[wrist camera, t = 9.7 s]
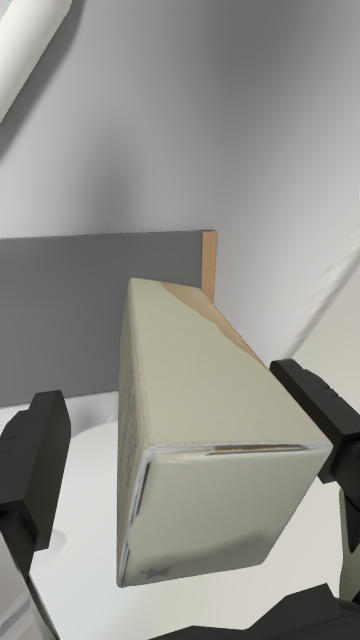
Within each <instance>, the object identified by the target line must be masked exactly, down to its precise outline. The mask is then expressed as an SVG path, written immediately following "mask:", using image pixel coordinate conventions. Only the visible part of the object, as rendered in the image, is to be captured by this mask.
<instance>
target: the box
mask: <svg viewBox="0 0 360 640" xmlns="http://www.w3.org/2000/svg"><path fill="white" fill-rule="evenodd" d="M332 448H333V444H332V443H331V442H330V440H329V439H328V438H327V437H326V436H325V435H324V434H323V432H322V431H321V430H320V429H319V428H318V427H317V425H316V424H315V423H314V422H313V421H312V419H311V418H310V417H309V416H308V415H307V414H306V413H305V411H304V410H303V409H302V408H301V407H300V406H299V404H298V403H297V402H296V401H295V400H294V399H293V397H292V396H291V395H290V394H289V393H288V392H287V390H286V389H285V388H284V387H283V385H282V384H281V383H280V382H279V381H278V380H277V379H276V378H275V376H274V375H273V374H272V373H271V372H270V370H269V369H268V368H267V367H266V366H265V365H264V363H263V362H262V361H261V360H260V359H259V358H258V356H257V355H256V354H255V353H254V352H253V350H252V349H251V348H250V347H249V346H248V344H247V343H246V342H245V341H244V340H243V339H242V337H241V336H240V335H239V334H238V333H237V332H236V331H235V329H234V328H233V327H232V326H231V325H230V324H229V322H228V321H227V320H226V319H225V318H224V316H223V315H222V314H221V313H220V312H219V311H218V309H217V308H216V307H215V306H214V305H213V304H212V302H211V301H210V300H209V299H208V298H207V297H206V295H205V294H204V293H203V292H202V291H201V290H200V289H199V288H196V287H191V286H185V285H180V284H174V283H168V282H161V281H154V280H147V279H140V278H131V279H130V280H129V282H128V288H127V294H126V300H125V307H124V314H123V323H122V332H121V341H120V362H119V405H118V466H117V470H118V471H117V585H118V587H121V588H124V587H127V586H136V585H144V584H150V583H155V582H160V581H166V580H172V579H177V578H184V577H191V576H197V575H202V574H208V573H214V572H221V571H228V570H235V569H240V568H246V567H251V566H256V565H260V564H262V563H263V562H264V561H265V559H266V558H267V556H268V554H269V552H270V551H271V549H272V547H273V546H274V544H275V543H276V541H277V539H278V538H279V536H280V535H281V533H282V531H283V530H284V528H285V526H286V525H287V524H288V522H289V520H290V519H291V517H292V516H293V514H294V512H295V511H296V509H297V507H298V505H299V504H300V502H301V501H302V499H303V498H304V496H305V494H306V492H307V491H308V489H309V487H310V486H311V484H312V482H313V481H314V479H315V478H316V476H317V474H318V473H319V471H320V469H321V468H322V466H323V464H324V463H325V461H326V460H327V458H328V456H329V455H330V453H331V451H332Z"/></svg>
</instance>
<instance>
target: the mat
mask: <svg viewBox="0 0 360 640" xmlns="http://www.w3.org/2000/svg"><path fill="white" fill-rule="evenodd" d="M216 244H217V231H215V230H196V231H172V232H149V233H125V234H101V235H77V236H53V237H30V238H6V239H0V407H4V406H11V405H17V404H24V403H31V402H32V400H33V397H34V395H35V394H36V393H40V392H47V391H54V390H61V391H62V394H63V397H64V398H66V397H72V396H79V395H86V394H93V393H100V392H107V391H114V390H119V362H120V341H121V332H122V323H123V314H124V307H125V300H126V294H127V288H128V282H129V280H130V279H131V278H140V279H147V280H154V281H161V282H168V283H174V284H180V285H185V286H191V287H196V288H199V289H200V290H201V291H202V292H203V293H204V294H205V295H206V297H207V298H208V299H209V300H210V301H211V302H212V304H213V302H214V283H215V264H216Z"/></svg>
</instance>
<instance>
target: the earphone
mask: <svg viewBox="0 0 360 640" xmlns="http://www.w3.org/2000/svg"><path fill="white" fill-rule="evenodd" d="M71 3H72V0H13V1H12V2H11V4H10V6H9V8H8V9H7V11H6V13H5V15H4V17H3V18H2V20H1V22H0V123H1V121H2V120H3V118H4V116H5V115H6V113H7V111H8V110H9V108H10V106H11V105H12V103H13V102H14V100H15V98H16V97H17V95H18V93H19V92H20V90H21V88H22V87H23V85H24V83H25V82H26V80H27V78H28V77H29V75H30V74H31V72H32V70H33V69H34V67H35V65H36V64H37V62H38V60H39V59H40V57H41V55H42V54H43V52H44V50H45V49H46V47H47V45H48V44H49V42H50V41H51V39H52V37H53V36H54V34H55V32H56V31H57V29H58V27H59V26H60V24H61V22H62V21H63V19H64V18H65V16H66V14H67V13H68V11H69V9H70V6H71Z"/></svg>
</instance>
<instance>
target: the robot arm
mask: <svg viewBox="0 0 360 640" xmlns="http://www.w3.org/2000/svg"><path fill="white" fill-rule="evenodd" d="M269 370H270V372H271V373H272V374H273V375H274V376H275V378H276V379H277V380H278V381H279V382H280V383H281V384H282V385H283V387H284V388H285V389H286V390H287V392H288V393H289V394H290V395H291V396H292V397H293V399H294V400H295V401H296V402H297V403H298V404H299V406H300V407H301V408H302V409H303V410H304V411H305V413H306V414H307V415H308V416H309V417H310V418H311V419H312V421H313V422H314V423H315V424H316V425H317V427H318V428H319V429H320V430H321V431H322V432H323V434H324V435H325V436H326V437H327V438H328V439H329V440H330V442H331V443H332V444H333V448H332V451H331V453H330V455H329V456H328V458H327V460H326V461H325V463H324V464H323V466H322V468H321V469H320V471H319V473H318V474H317V476H318V477H319V479H320V480H321V482H322V483H323V484H325V483H330V482H334V481H337V483H338V484H339V485H340V487H341V489H340V491H339V503H340V517H341V532H342V546H343V565H342V570H341V575H340V585H339V598H336V597H334V596H333V594H332V592H331V590H330V588H329V586H328V584H327V583H325V584H322V585H318V586H315V587H312V588H309V589H306V590H303V591H300V592H296V593H294V594H290V595H287V596H285V597H284V598H283V599H282V600H281V601H279V602H278V603H277V604H276V605H275V606H274V607H273V608H271V609H270V610H269V611H268V612H267V613H266V614H265V615H264V616H262V617H261V618H260V619H259V620H258V621H257V622H255V623H254V624H253V625H252V626H251V627H249V628H248V629H245V630H237V629H226V628H215V627H203V626H190V627H187V628H183V629H180V630H177V631H174V632H171V633H168V634H164V635H161V636H158V637H155V638H152V639H149V640H360V415H359V414H358V413H357V412H356V411H355V410H354V409H353V408H352V407H351V406H350V405H349V404H348V403H347V402H346V401H345V400H343V399H342V398H341V397H339V396H338V394H337V393H336V392H335V391H334V390H333V389H330V386H329V385H328V384H327V383H325V382H324V381H323V380H322V379H321V378H320V377H319V376H317V375H315V374H314V373H312V372H310V371H308V370H307V369H305V370H304V369H303V368H302V367H301V366H300V365H299V364H298V363H297V362H296V361H294V360H293V359H283V360H276V361H272V362H271V364H270V368H269ZM70 439H71V422H70V418H69V414H68V411H67V407H66V404H65V400H64V397H63V394H62V391H61V390H54V391H47V392H40V393H36V394H35V395H34V397H33V400H32V402H31V404H30V407H29V409H28V410H23V411H19V412H18V413H17V414H16V415H15V416H14V417H13V418H12V419H11V420H10V421H9V422H8V423H7V424H6V426H5V428H4V430H3V432H2V434H1V436H0V640H60V638H59V636H58V634H57V631H56V629H55V627H54V625H53V623H52V621H51V618H50V616H49V614H48V612H47V610H46V608H45V605H44V603H43V601H42V599H41V597H40V595H39V592H38V590H37V588H36V586H35V584H34V582H33V579H32V577H31V575H30V573H29V571H30V567H31V563H32V558H33V554H34V552H35V551H39V550H44V549H48V547H49V542H50V537H51V532H52V527H53V522H54V518H55V513H56V508H57V503H58V498H59V493H60V488H61V483H62V478H63V473H64V468H65V463H66V458H67V453H68V448H69V444H70Z"/></svg>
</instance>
